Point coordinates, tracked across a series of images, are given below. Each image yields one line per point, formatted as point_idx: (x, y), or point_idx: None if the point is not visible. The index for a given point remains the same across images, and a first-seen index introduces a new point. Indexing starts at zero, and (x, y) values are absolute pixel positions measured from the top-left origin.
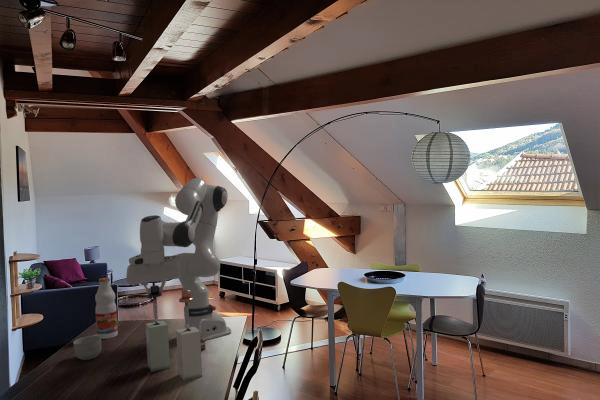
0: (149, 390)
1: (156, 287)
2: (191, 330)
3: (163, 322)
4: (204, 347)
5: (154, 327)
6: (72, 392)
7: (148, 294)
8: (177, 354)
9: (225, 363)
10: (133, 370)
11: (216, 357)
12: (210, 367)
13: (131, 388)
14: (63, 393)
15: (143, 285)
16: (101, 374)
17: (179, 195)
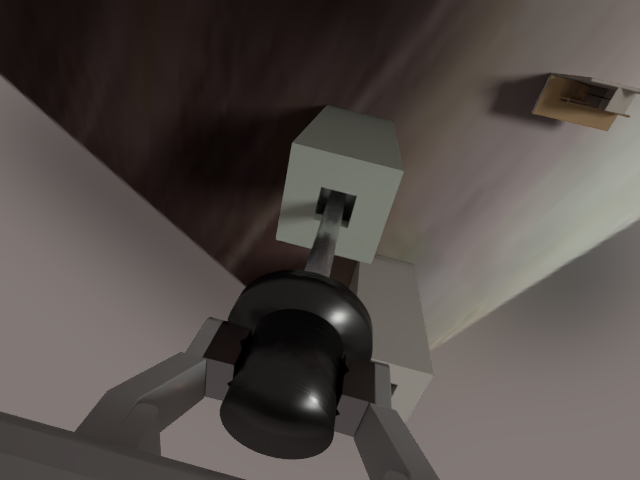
0: (260, 276)
1: (284, 449)
2: (391, 396)
3: (380, 208)
4: (606, 101)
5: (302, 245)
6: (87, 137)
7: (235, 314)
8: (357, 288)
9: (509, 282)
10: (273, 104)
11: (539, 221)
12: (457, 273)
13: (228, 234)
14: (64, 123)
15: (114, 403)
16: (171, 47)
17: None
